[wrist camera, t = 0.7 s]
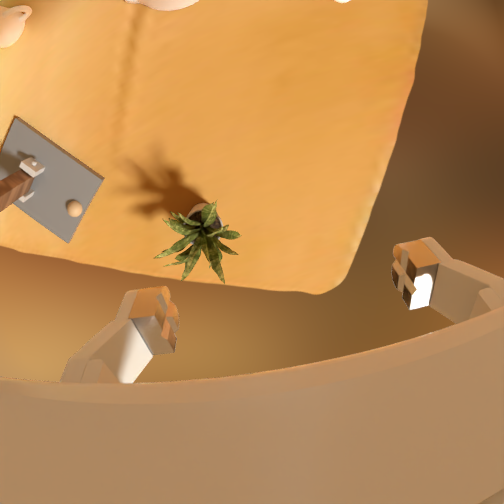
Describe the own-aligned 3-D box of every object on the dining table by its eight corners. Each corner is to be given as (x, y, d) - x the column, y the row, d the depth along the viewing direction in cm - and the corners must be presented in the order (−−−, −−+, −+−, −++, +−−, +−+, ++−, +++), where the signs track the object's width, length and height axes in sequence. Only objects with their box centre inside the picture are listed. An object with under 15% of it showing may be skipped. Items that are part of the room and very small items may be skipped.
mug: (41, -3, 31) (16, -15, 22) (42, 29, 35) (15, 21, 26) (-4, 23, 30) (-31, 18, 21) (-3, 54, 34) (-32, 53, 25)
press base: (-7, 182, 47) (-21, 190, 42) (18, 117, 42) (4, 120, 37) (70, 240, 56) (61, 252, 52) (104, 178, 52) (95, 186, 47)
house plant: (169, 168, 53) (155, 195, 39) (243, 178, 56) (257, 208, 42) (161, 238, 59) (149, 285, 45) (230, 246, 62) (238, 294, 48)
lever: (16, 188, 46) (-41, 229, 29) (27, 161, 44) (-34, 194, 27) (27, 196, 47) (-28, 240, 30) (38, 169, 45) (-21, 206, 29)
